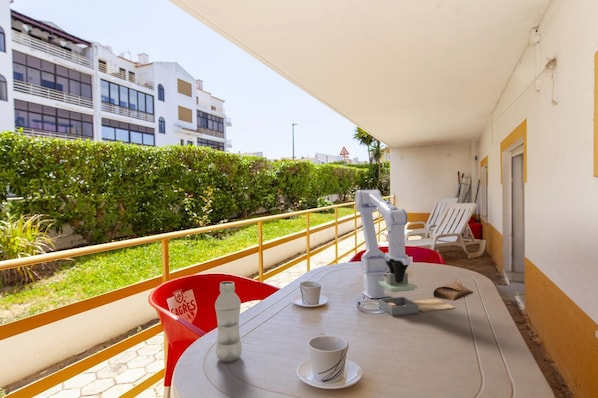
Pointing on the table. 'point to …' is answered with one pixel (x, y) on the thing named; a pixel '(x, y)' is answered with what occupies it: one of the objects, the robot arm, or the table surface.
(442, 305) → the cork mat
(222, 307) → the plastic bottle
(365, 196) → the robot arm
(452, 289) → the sunglasses case
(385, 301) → the storage box
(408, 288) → the lid
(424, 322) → the table surface
